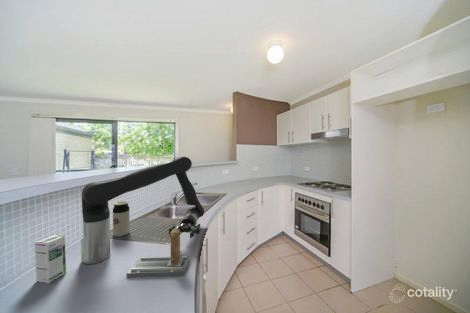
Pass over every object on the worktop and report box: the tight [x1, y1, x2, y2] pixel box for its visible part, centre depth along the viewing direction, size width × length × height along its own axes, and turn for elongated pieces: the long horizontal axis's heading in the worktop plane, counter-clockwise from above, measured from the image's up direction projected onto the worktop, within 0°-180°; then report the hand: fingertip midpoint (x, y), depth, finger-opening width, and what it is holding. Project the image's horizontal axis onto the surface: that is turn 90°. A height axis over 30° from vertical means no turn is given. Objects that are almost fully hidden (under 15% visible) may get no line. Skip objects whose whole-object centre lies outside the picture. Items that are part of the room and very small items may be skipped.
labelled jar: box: [112, 200, 131, 237], centre depth 102 cm, size 8×8×18 cm
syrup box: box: [34, 234, 67, 284], centre depth 66 cm, size 6×6×14 cm
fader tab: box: [167, 230, 184, 267], centre depth 71 cm, size 5×6×13 cm
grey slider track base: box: [126, 255, 191, 278], centre depth 71 cm, size 21×10×2 cm, turn 92°
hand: (181, 236), depth 79 cm, fingers open, 8 cm apart
